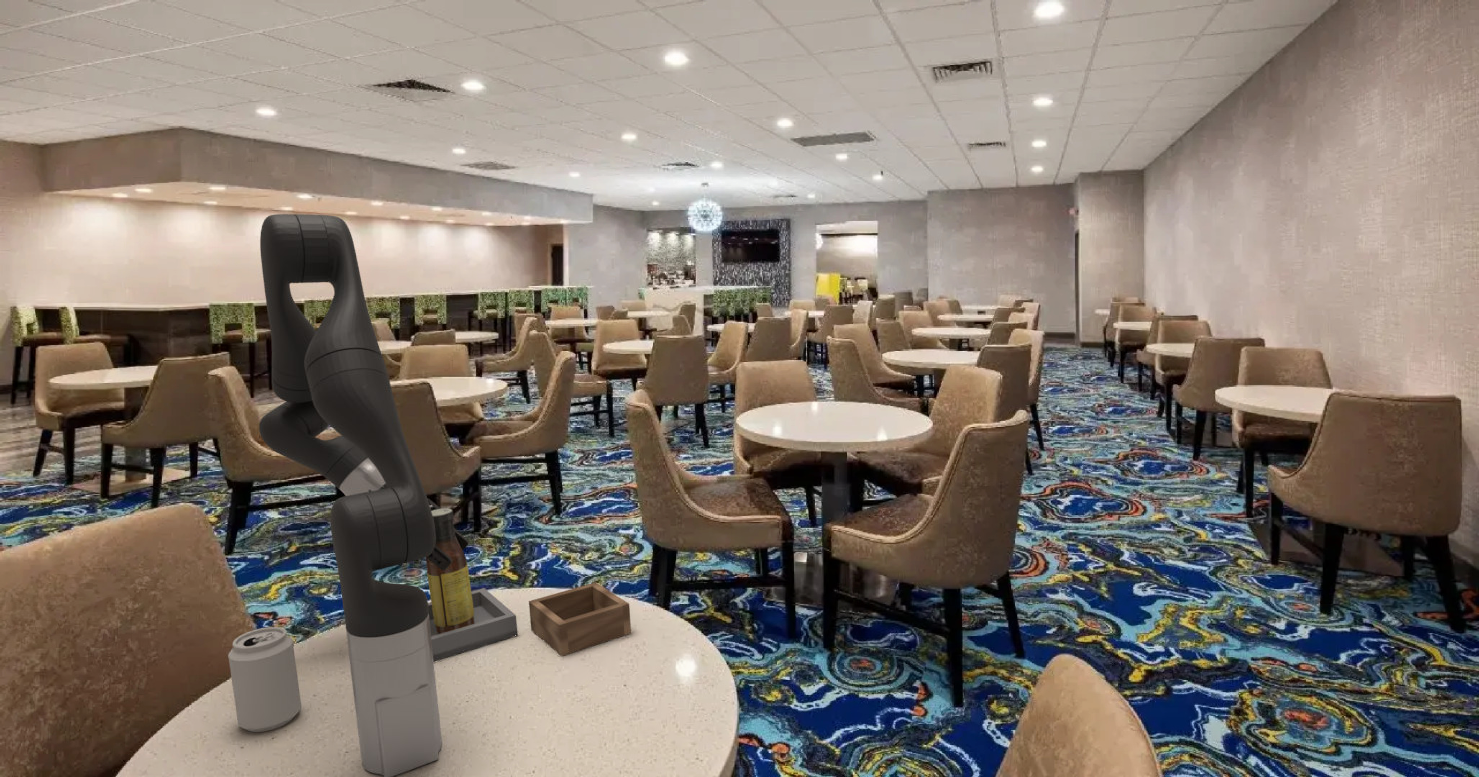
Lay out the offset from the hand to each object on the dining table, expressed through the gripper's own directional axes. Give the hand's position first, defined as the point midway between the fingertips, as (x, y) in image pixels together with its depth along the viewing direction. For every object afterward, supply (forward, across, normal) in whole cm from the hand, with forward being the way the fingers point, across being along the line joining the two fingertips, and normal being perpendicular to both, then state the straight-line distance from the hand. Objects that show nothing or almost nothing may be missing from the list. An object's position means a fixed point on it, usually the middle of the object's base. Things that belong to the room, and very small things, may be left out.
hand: (457, 556), depth 133 cm
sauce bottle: (+8, 0, +10) cm, 12 cm away
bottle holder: (+23, -2, -4) cm, 23 cm away
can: (-4, -24, +23) cm, 33 cm away
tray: (+8, 0, +10) cm, 13 cm away
